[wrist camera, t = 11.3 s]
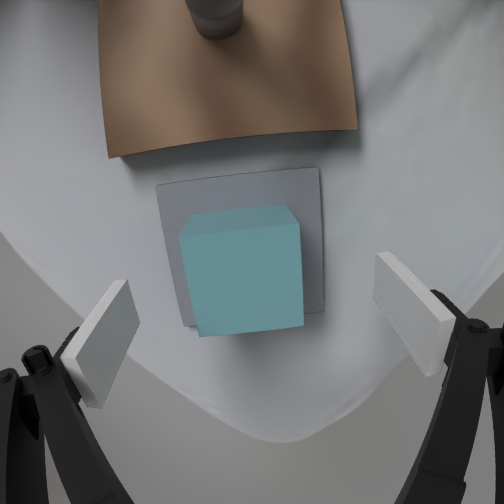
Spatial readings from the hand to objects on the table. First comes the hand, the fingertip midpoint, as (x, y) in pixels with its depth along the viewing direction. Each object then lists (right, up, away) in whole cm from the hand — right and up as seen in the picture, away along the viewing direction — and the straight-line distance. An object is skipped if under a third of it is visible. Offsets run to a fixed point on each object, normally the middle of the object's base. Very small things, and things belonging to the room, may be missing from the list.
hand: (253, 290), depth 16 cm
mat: (-1, +2, +7) cm, 7 cm away
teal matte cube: (-1, +2, +6) cm, 7 cm away
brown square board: (-2, +17, +1) cm, 17 cm away
